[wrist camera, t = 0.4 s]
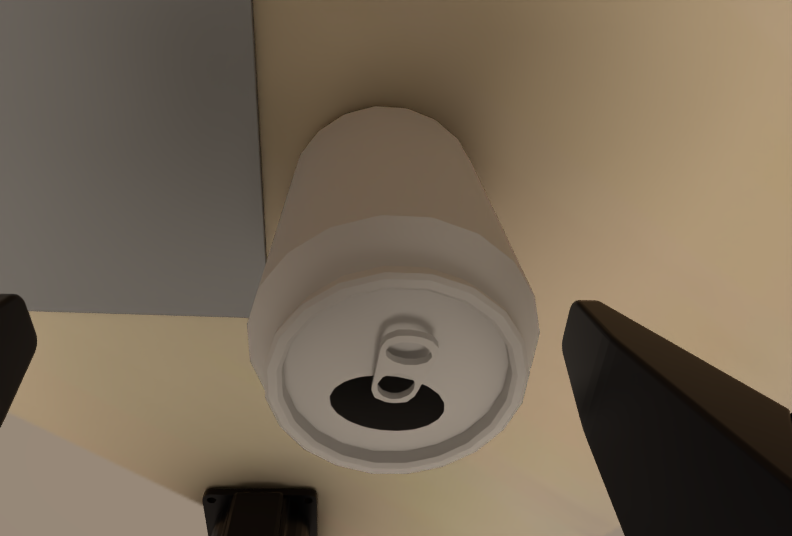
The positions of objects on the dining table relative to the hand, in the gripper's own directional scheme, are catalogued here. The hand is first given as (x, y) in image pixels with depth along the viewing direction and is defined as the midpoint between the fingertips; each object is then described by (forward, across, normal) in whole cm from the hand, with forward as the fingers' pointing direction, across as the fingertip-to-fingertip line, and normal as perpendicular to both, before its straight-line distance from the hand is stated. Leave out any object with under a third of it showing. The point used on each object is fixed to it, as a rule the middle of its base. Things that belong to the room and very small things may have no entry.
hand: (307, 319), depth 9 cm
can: (+14, -2, +3) cm, 15 cm away
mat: (+14, +10, +2) cm, 17 cm away
